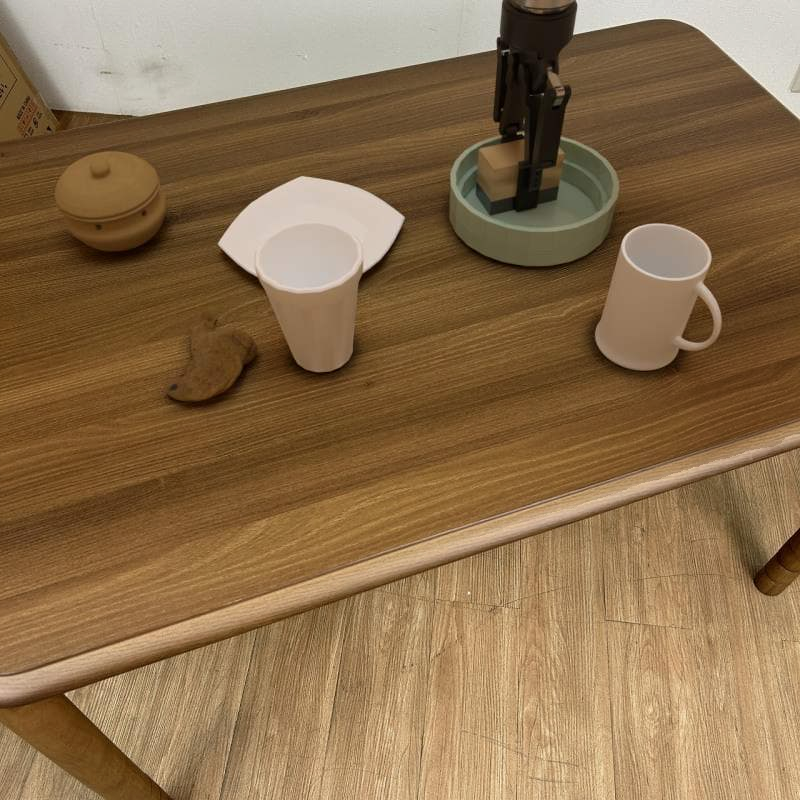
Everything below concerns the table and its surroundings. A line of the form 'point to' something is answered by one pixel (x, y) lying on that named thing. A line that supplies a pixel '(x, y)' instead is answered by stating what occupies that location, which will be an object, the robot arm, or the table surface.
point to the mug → (655, 297)
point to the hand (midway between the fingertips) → (516, 195)
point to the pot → (111, 200)
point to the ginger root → (212, 360)
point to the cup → (313, 289)
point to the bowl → (538, 210)
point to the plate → (313, 218)
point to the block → (510, 177)
